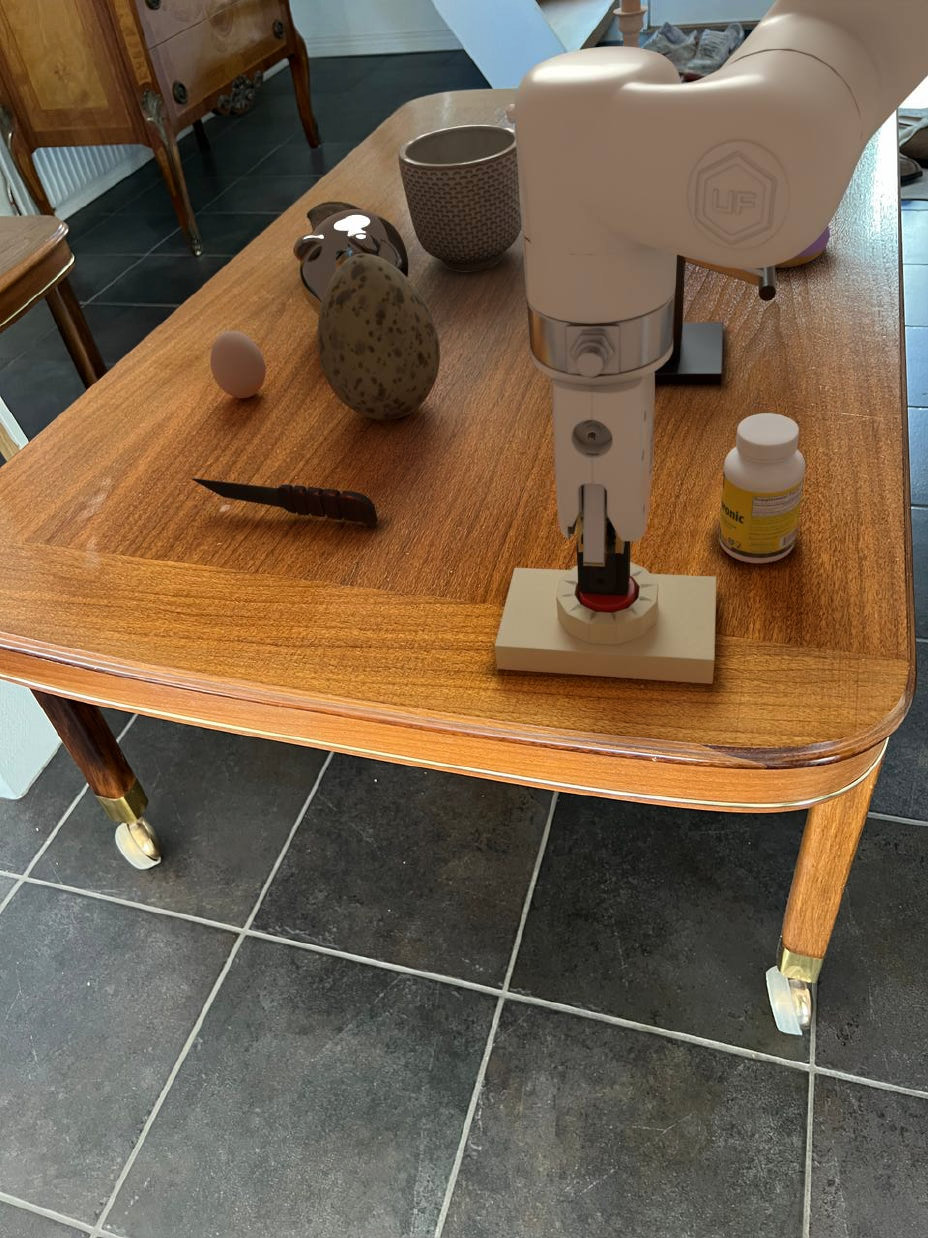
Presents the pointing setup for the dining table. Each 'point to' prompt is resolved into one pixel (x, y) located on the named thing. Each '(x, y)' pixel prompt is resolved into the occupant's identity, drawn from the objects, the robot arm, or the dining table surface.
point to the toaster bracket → (692, 346)
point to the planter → (463, 193)
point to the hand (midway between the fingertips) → (604, 586)
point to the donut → (808, 251)
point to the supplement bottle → (762, 490)
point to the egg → (237, 364)
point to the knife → (301, 500)
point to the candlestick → (630, 21)
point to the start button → (609, 600)
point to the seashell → (327, 211)
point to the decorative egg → (377, 339)
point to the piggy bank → (345, 248)
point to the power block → (610, 628)
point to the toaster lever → (747, 276)
